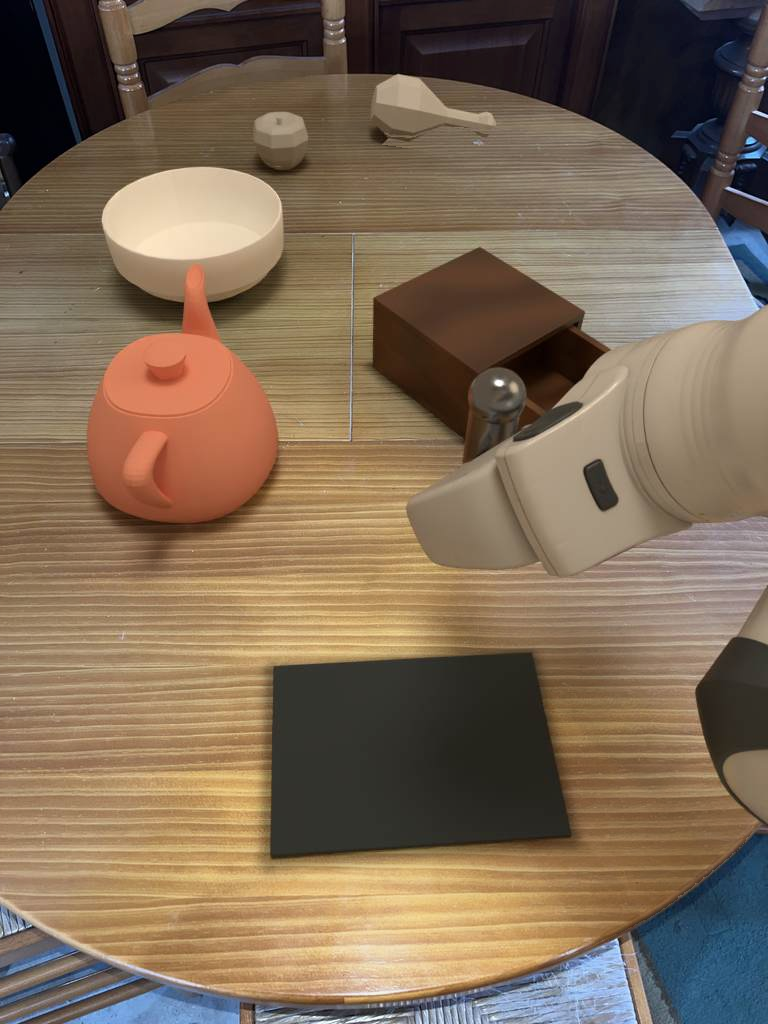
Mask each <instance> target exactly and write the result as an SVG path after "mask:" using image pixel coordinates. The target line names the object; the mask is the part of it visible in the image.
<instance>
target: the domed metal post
mask: <svg viewBox="0 0 768 1024" xmlns="http://www.w3.org/2000/svg"><path fill="white" fill-rule="evenodd" d="M526 399H527V392H526V388H525V385H524V383H523V381H522V379H521V378H520V377H519V376H518V375H517V374H516V373H515V372H513V371H511V370H509V369H507V368H503V367H493V368H489V369H486V370H484V371H482V372H481V373H479V374H478V375H477V376H476V377H475V378H474V380H473V381H472V383H471V385H470V387H469V391H468V403H469V407H470V409H469V416H468V424H467V431H466V438H465V439H464V440H465V441H464V446H463V456H462V461H461V462H462V463H461V465H462V464H463V463H465V462H467V461H468V460H470V459H472V458H474V457H475V456H480V455H482V454H484V453H485V452H487V451H488V450H490V449H492V448H493V447H495V446H497V445H498V444H500V443H502V442H503V441H505V440H507V439H508V438H510V437H512V436H513V435H515V434H516V433H517V428H518V423H519V418H520V414H521V413H522V411H523V409H524V407H525V404H526Z"/></svg>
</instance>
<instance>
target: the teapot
mask: <svg viewBox="0 0 768 1024" xmlns="http://www.w3.org/2000/svg"><path fill="white" fill-rule="evenodd" d="M182 316H183V317H182V325H181V333H174V332H171V333H157V334H151V335H147V336H144V337H140V338H138V339H136V340H134V341H133V342H131V343H129V344H128V345H126V346H125V347H124V348H122V349H121V351H119V352H118V353H117V354H116V355H115V357H114V358H113V359H112V360H111V361H110V363H109V365H108V366H107V368H106V370H105V372H104V374H103V375H102V377H101V380H100V382H99V385H98V388H97V390H96V392H95V396H94V398H93V401H92V403H91V407H90V411H89V414H88V415H89V416H88V420H87V428H86V454H87V462H88V468H89V472H90V475H91V478H92V481H93V484H94V487H95V488H96V490H97V492H98V494H99V495H100V496H101V497H102V498H103V499H104V500H105V501H106V502H107V503H108V504H110V505H111V506H113V507H114V508H115V509H117V510H119V511H121V512H123V513H125V514H128V515H131V516H133V517H134V516H135V517H137V518H141V519H144V520H148V521H154V522H161V523H168V524H169V523H171V524H194V523H195V524H196V523H204V522H210V521H213V520H217V519H220V518H222V517H225V516H227V515H229V514H231V513H232V512H234V511H236V510H238V509H239V508H240V507H242V506H243V505H245V504H246V503H247V502H248V501H249V500H250V499H252V497H253V496H254V495H255V494H256V493H257V492H258V491H259V490H260V488H261V487H262V486H263V485H264V483H265V482H266V480H267V479H268V477H269V476H270V473H271V471H272V469H273V467H274V464H275V461H276V458H277V454H278V451H279V431H278V426H277V420H276V416H275V415H274V410H273V408H272V405H271V402H270V400H269V398H268V395H267V393H266V392H265V390H264V388H263V386H262V385H261V383H260V382H259V380H258V378H257V377H256V376H255V374H254V373H253V372H252V371H251V370H250V369H249V368H248V366H247V365H246V364H245V363H244V362H243V361H242V360H241V359H240V358H239V357H238V356H237V355H236V354H235V353H234V352H233V351H232V350H231V349H229V348H228V347H227V346H226V345H224V344H223V343H222V339H221V337H220V334H219V332H218V329H217V327H216V324H215V322H214V319H213V317H212V313H211V310H210V308H209V304H208V303H207V300H206V293H205V275H204V270H203V268H202V266H201V265H200V264H194V265H192V266H191V267H190V268H189V270H188V272H187V275H186V279H185V298H184V302H183V314H182Z"/></svg>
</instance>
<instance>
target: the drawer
mask: <svg viewBox="0 0 768 1024" xmlns="http://www.w3.org/2000/svg"><path fill="white" fill-rule="evenodd" d="M610 350H612V348H610V347H608V346H607V345H605V344H604V343H602V342H600V341H598V340H597V339H596V338H594V337H592V336H591V335H589V334H588V333H586V332H585V331H584V330H583V331H582V329H581V330H580V329H578V328H576V327H575V326H573V325H571V326H569V327H568V328H566V329H564V330H562V331H561V332H559V333H557V334H555V335H554V336H552V337H550V338H548V339H547V340H545V341H543V342H541V343H540V344H538V345H536V346H534V347H533V348H531V349H529V350H528V351H526V352H524V353H522V354H521V355H519V356H517V357H515V358H514V359H512V360H510V361H508V362H507V363H505V364H503V365H501V366H500V367H503V368H507V369H509V370H511V371H513V372H515V373H516V374H517V375H518V376H519V377H520V378H521V379H522V381H523V383H524V385H525V388H526V392H527V399H526V404H525V407H524V409H523V411H522V413H521V414H520V418H519V423H518V428H517V431H518V430H519V429H521V428H523V427H524V426H526V425H530V424H532V423H534V422H535V421H536V420H538V419H539V418H540V417H541V416H543V415H544V414H545V413H546V412H548V411H549V410H551V409H552V408H553V407H554V406H555V405H556V404H557V403H558V402H559V401H560V400H561V399H562V398H563V397H564V396H565V395H566V394H567V393H568V391H569V390H570V389H571V388H572V387H573V386H575V385H576V384H577V383H578V382H579V381H581V380H582V379H583V377H584V376H585V374H586V372H587V371H588V370H589V368H590V367H591V366H592V365H593V364H594V362H595V361H596V360H597V359H599V358H600V357H601V356H602V355H604V354H605V353H607V352H608V351H610Z"/></svg>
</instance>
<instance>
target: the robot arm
mask: <svg viewBox="0 0 768 1024" xmlns="http://www.w3.org/2000/svg"><path fill="white" fill-rule="evenodd" d="M405 512H406V516H407V519H408V522H409V524H410V527H411V529H412V531H413V533H414V535H415V538H416V539H417V541H418V543H419V546H420V547H421V549H422V550H423V552H424V553H425V555H426V557H427V558H428V559H429V560H430V561H431V562H432V563H433V564H435V565H437V566H441V567H446V568H453V569H465V570H485V571H486V570H487V571H499V570H500V571H501V570H502V571H504V570H513V569H519V568H524V567H527V566H531V565H534V564H537V563H539V562H540V564H541V565H542V567H543V568H544V570H545V572H546V573H547V574H548V575H549V576H552V577H561V578H565V577H566V578H567V577H574V576H577V575H579V574H582V573H584V572H587V571H589V570H590V569H593V568H594V567H597V566H599V565H600V564H603V563H605V562H607V561H608V560H611V559H613V558H614V557H617V556H619V555H621V554H623V553H626V552H628V551H629V550H631V549H633V548H636V547H637V546H640V545H642V544H644V543H646V542H650V541H652V540H655V539H659V538H662V537H666V536H669V535H673V534H677V533H681V532H683V531H686V530H690V529H691V528H692V527H693V526H694V524H714V523H716V524H717V523H718V524H719V523H732V522H739V521H744V520H747V519H750V518H758V517H760V518H766V519H768V303H767V304H765V305H764V306H762V307H760V308H759V309H758V310H756V311H755V312H753V313H752V314H751V315H749V316H747V317H745V318H742V319H738V320H729V319H712V320H705V321H700V322H695V323H693V324H690V325H686V326H683V327H680V328H676V329H673V330H669V331H666V332H662V333H660V334H656V335H653V336H650V337H647V338H643V339H640V340H637V341H634V342H630V343H627V344H623V345H620V346H617V347H615V348H613V349H612V348H611V350H610V351H608V352H607V353H605V354H604V355H602V356H601V357H600V358H599V359H597V360H596V361H595V362H594V364H593V365H592V366H591V367H590V368H589V370H588V371H587V372H586V374H585V376H584V377H583V379H582V380H581V381H579V382H578V383H577V384H576V385H575V386H573V387H572V388H571V389H570V390H569V391H568V393H567V394H566V395H565V396H564V397H563V398H562V399H561V400H560V401H559V402H558V403H557V404H556V405H555V406H554V407H553V408H552V409H551V410H549V411H548V412H546V413H545V414H544V415H543V416H541V417H540V418H539V419H538V420H536V421H535V422H534V423H532V424H530V425H526V426H524V427H523V428H521V429H519V430H518V431H517V433H516V434H515V435H513V436H512V437H510V438H508V439H507V440H505V441H503V442H502V443H500V444H498V445H497V446H495V447H493V448H492V449H490V450H488V451H487V452H485V453H484V454H482V455H480V456H475V457H474V458H472V459H470V460H468V461H467V462H465V463H463V464H462V463H461V464H460V465H458V466H457V467H456V469H455V470H454V471H452V472H450V473H449V474H447V475H446V476H444V477H443V478H441V479H439V480H437V481H436V482H434V483H433V484H431V485H429V486H427V487H426V488H423V490H420V491H419V492H417V493H415V494H414V495H412V496H411V497H410V498H409V499H408V501H407V503H406V507H405ZM694 695H695V701H696V708H697V714H698V719H699V722H700V727H701V730H702V735H703V739H704V742H705V745H706V748H707V751H708V754H709V757H710V759H711V762H712V765H713V767H714V770H715V772H716V774H717V776H718V778H719V781H720V783H721V784H722V786H723V787H724V789H725V791H727V793H728V794H729V795H730V796H731V798H732V799H733V800H734V801H735V802H736V803H737V804H738V805H739V806H740V807H741V808H742V809H743V810H745V811H746V813H748V814H749V815H751V816H752V817H753V818H754V819H755V820H757V821H758V822H760V823H761V824H763V825H764V826H766V827H767V828H768V584H767V585H766V587H765V588H764V590H763V592H762V593H761V595H760V596H759V598H758V600H757V602H756V603H755V605H754V607H753V608H752V610H751V612H750V613H749V615H748V616H747V618H746V620H745V621H744V623H743V625H742V626H741V628H740V630H739V631H738V634H736V636H733V637H732V638H730V639H729V641H728V642H727V644H726V645H725V646H724V648H723V649H722V651H721V652H720V653H719V655H718V656H717V657H716V658H715V660H714V662H713V663H712V665H711V666H710V667H709V669H708V670H706V673H705V674H704V676H702V678H701V679H700V681H699V682H698V684H697V685H696V687H695V690H694Z"/></svg>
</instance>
